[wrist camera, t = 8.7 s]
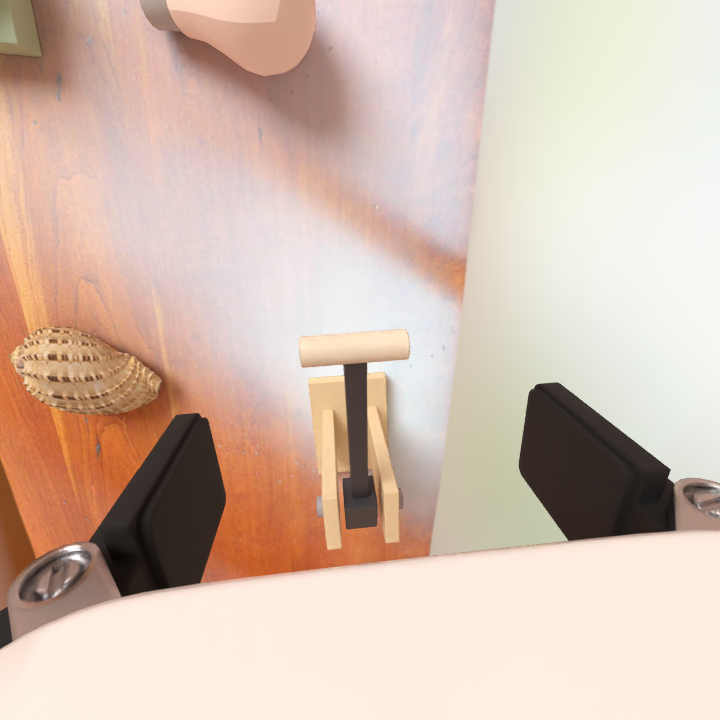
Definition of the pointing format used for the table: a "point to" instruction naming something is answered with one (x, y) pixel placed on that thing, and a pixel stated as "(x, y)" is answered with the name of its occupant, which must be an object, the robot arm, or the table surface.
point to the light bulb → (242, 28)
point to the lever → (356, 404)
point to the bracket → (335, 452)
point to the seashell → (82, 373)
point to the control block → (18, 29)
